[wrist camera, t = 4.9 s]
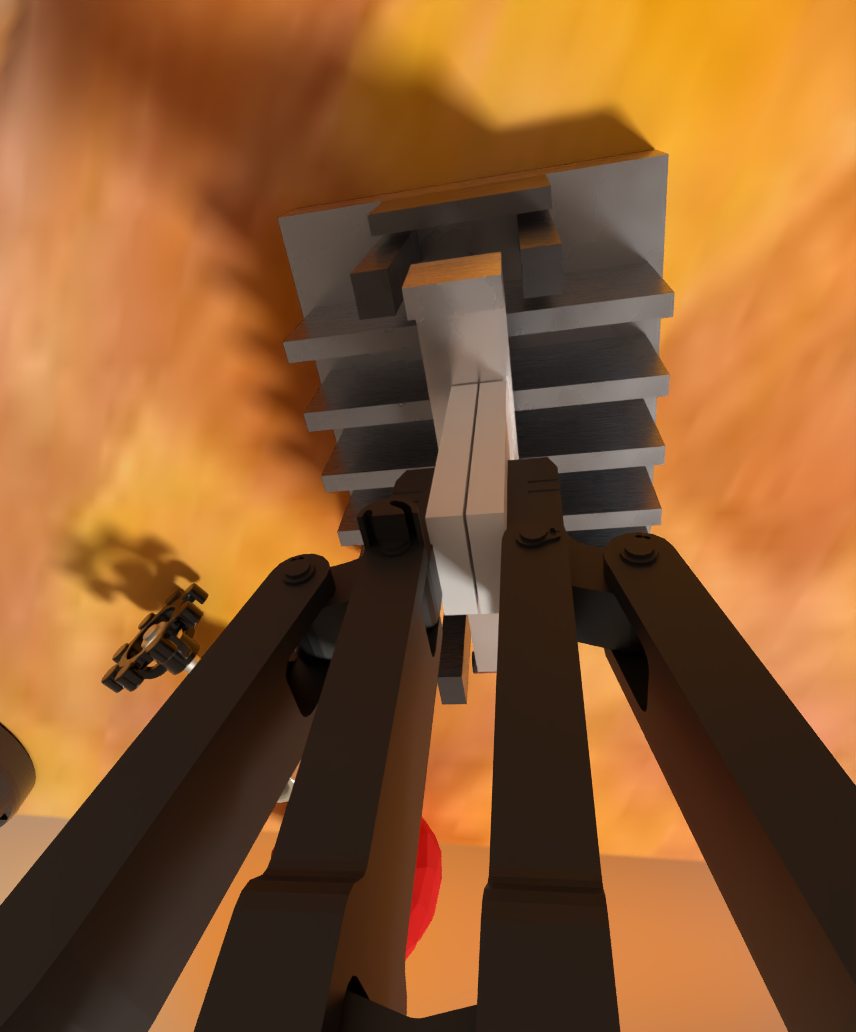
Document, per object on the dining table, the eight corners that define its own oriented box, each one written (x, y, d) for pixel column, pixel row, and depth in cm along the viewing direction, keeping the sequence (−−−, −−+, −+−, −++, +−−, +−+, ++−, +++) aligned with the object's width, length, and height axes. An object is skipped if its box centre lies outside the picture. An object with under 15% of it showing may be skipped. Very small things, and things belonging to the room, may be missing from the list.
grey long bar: (541, 658, 26) (544, 702, 24) (475, 660, 26) (473, 703, 25) (508, 249, 16) (509, 273, 15) (404, 264, 17) (393, 289, 15)
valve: (359, 689, 38) (212, 563, 34) (336, 787, 33) (157, 652, 28) (287, 725, 41) (142, 613, 37) (254, 821, 36) (79, 703, 31)
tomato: (464, 847, 47) (455, 1012, 39) (326, 854, 50) (290, 1009, 42) (420, 751, 41) (399, 921, 33) (266, 765, 44) (209, 925, 35)
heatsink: (639, 561, 31) (679, 699, 24) (384, 576, 33) (352, 706, 26) (655, 149, 21) (730, 176, 14) (293, 209, 23) (202, 258, 16)
